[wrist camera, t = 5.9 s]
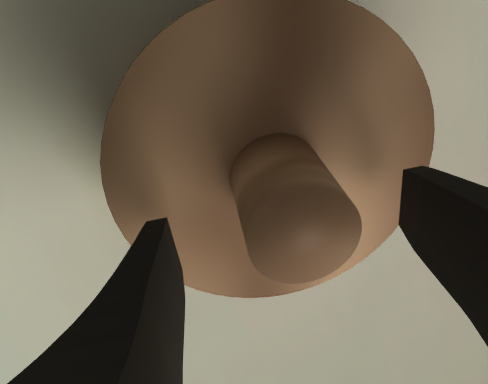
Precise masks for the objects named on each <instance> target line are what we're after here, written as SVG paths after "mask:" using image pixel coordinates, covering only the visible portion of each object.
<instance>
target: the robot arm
mask: <svg viewBox="0 0 488 384" xmlns="http://www.w3.org/2000/svg"><path fill="white" fill-rule="evenodd" d="M399 226H400V228H401V229H402V231H403V233H404V235H405V236H406V238H407V240H408V241H409V243H410V244H411V246H412V248H413V249H414V251H415V252H416V253H417V255H418V256H419V257H420V258H421V260H422V261H423V262H424V263H425V265H426V266H427V267H428V268H429V269H430V271H431V272H432V273H433V274H434V276H435V277H436V278H437V279H438V280H439V282H440V283H441V284H442V285H443V286H444V288H445V289H446V290H447V291H448V292H449V294H450V295H451V296H452V297H453V299H454V300H455V301H456V302H457V303H458V305H459V306H460V307H461V308H462V310H463V311H464V312H465V314H466V315H467V316H468V318H469V319H470V320H471V322H472V323H473V325H474V326H475V328H476V329H477V331H478V332H479V334H480V335H481V337H482V339H483V340H484V342H485V343H486V345H487V346H488V187H485V186H482V185H479V184H476V183H474V182H471V181H468V180H465V179H462V178H460V177H457V176H454V175H451V174H448V173H445V172H442V171H439V170H436V169H433V168H430V167H426V166H418V167H413V168H408V169H403V175H402V187H401V200H400V212H399ZM184 320H185V291H184V279H183V269H182V266H181V263H180V259H179V256H178V252H177V249H176V246H175V242H174V239H173V236H172V232H171V229H170V225H169V222H168V219H167V217H166V218H161V219H156V220H151V221H146V223H145V224H144V226H143V227H142V229H141V230H140V232H139V234H138V236H137V237H136V239H135V241H134V242H133V244H132V246H131V247H130V249H129V250H128V252H127V254H126V255H125V257H124V258H123V260H122V261H121V263H120V264H119V266H118V267H117V269H116V270H115V272H114V273H113V275H112V276H111V278H110V279H109V280H108V282H107V283H106V284H105V286H104V287H103V288H102V290H101V291H100V293H99V294H98V295H97V296H96V298H95V299H94V300H93V301H92V303H91V304H90V305H89V306H88V307H87V308H86V309H85V311H84V312H83V313H82V314H81V315H80V316H79V317H78V318H77V320H76V321H75V322H74V323H73V324H72V325H71V326H70V327H69V328H68V329H67V330H66V331H65V332H64V333H63V334H62V335H61V336H60V337H59V338H58V339H57V340H56V341H55V342H54V343H53V344H52V345H51V346H50V347H49V348H48V349H47V350H45V351H44V352H43V353H42V354H41V355H40V356H39V357H38V358H37V359H36V360H34V361H33V362H32V363H31V364H30V365H29V366H28V367H27V368H25V369H24V370H23V371H22V372H21V373H19V374H18V375H17V376H16V377H15V378H13V379H12V380H11V381H10V382H9V383H7V384H183V345H184Z"/></svg>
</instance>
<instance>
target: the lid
mask: <svg viewBox="0 0 488 384" xmlns="http://www.w3.org/2000/svg"><path fill="white" fill-rule="evenodd" d="M433 141H434V110H433V105H432V99H431V94H430V90H429V87H428V84H427V81H426V79H425V76H424V73H423V71H422V69H421V67H420V65H419V63H418V61H417V60H416V58H415V56H414V54H413V52H412V51H411V50H410V49H409V47H408V46H407V45H406V44H405V42H404V41H403V40H402V38H401V37H400V36H399V35H398V34H397V33H396V32H395V31H394V30H393V29H392V28H390V27H389V26H388V25H387V24H386V23H385V22H384V21H383V20H381V19H380V18H378V17H377V16H375V15H374V14H372V13H371V12H369V11H367V10H366V9H364V8H363V7H361V6H358V5H356V4H354V3H352V2H349V1H347V0H212V1H209V2H207V3H205V4H203V5H201V6H199V7H197V8H195V9H193V10H192V11H190V12H188V13H186V14H184V15H182V16H181V17H180V18H178V19H177V20H176V21H174V22H173V23H172V24H170V25H169V26H168V27H166V28H165V29H164V30H162V31H161V32H160V33H159V34H158V35H157V36H156V37H155V38H154V39H153V40H152V41H151V42H150V43H149V44H148V45H147V46H146V47H145V48H144V49H143V51H142V52H141V53H140V55H139V56H138V57H137V58H136V60H135V61H134V62H133V64H132V65H131V66H130V68H129V70H128V71H127V73H126V75H125V77H124V79H123V80H122V82H121V84H120V86H119V88H118V90H117V92H116V94H115V96H114V99H113V102H112V104H111V107H110V110H109V113H108V115H107V118H106V122H105V127H104V132H103V136H102V141H101V160H100V165H101V175H102V185H103V188H104V192H105V196H106V200H107V204H108V206H109V209H110V211H111V213H112V216H113V218H114V220H115V222H116V224H117V226H118V227H119V229H120V231H121V232H122V234H123V235H124V237H125V239H126V240H127V241H128V242H129V243H130V245H131V246H132V244H133V242H134V241H135V239H136V237H137V236H138V234H139V232H140V230H141V229H142V227H143V226H144V224H145V223H146V221H151V220H156V219H161V218H166V217H167V219H168V222H169V225H170V229H171V232H172V236H173V239H174V242H175V246H176V249H177V252H178V256H179V259H180V263H181V266H182V269H183V279H184V285H186V286H189V287H191V288H194V289H196V290H200V291H204V292H207V293H211V294H215V295H222V296H228V297H241V298H258V297H271V296H278V295H284V294H289V293H293V292H297V291H301V290H304V289H307V288H310V287H313V286H316V285H319V284H321V283H323V282H325V281H328V280H330V279H332V278H334V277H336V276H338V275H340V274H341V273H343V272H345V271H347V270H349V269H350V268H352V267H353V266H355V265H356V264H358V263H359V262H360V261H362V260H363V259H365V258H366V257H367V256H368V255H370V254H371V253H372V252H373V251H374V250H376V249H377V248H378V247H379V246H380V245H381V244H382V243H383V242H384V241H385V240H386V239H387V238H388V237H389V236H390V235H391V234H392V233H393V231H394V230H395V229H396V228H397V226H398V225H399V212H400V200H401V187H402V175H403V169H408V168H413V167H418V166H426V167H429V164H430V159H431V155H432V150H433Z"/></svg>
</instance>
